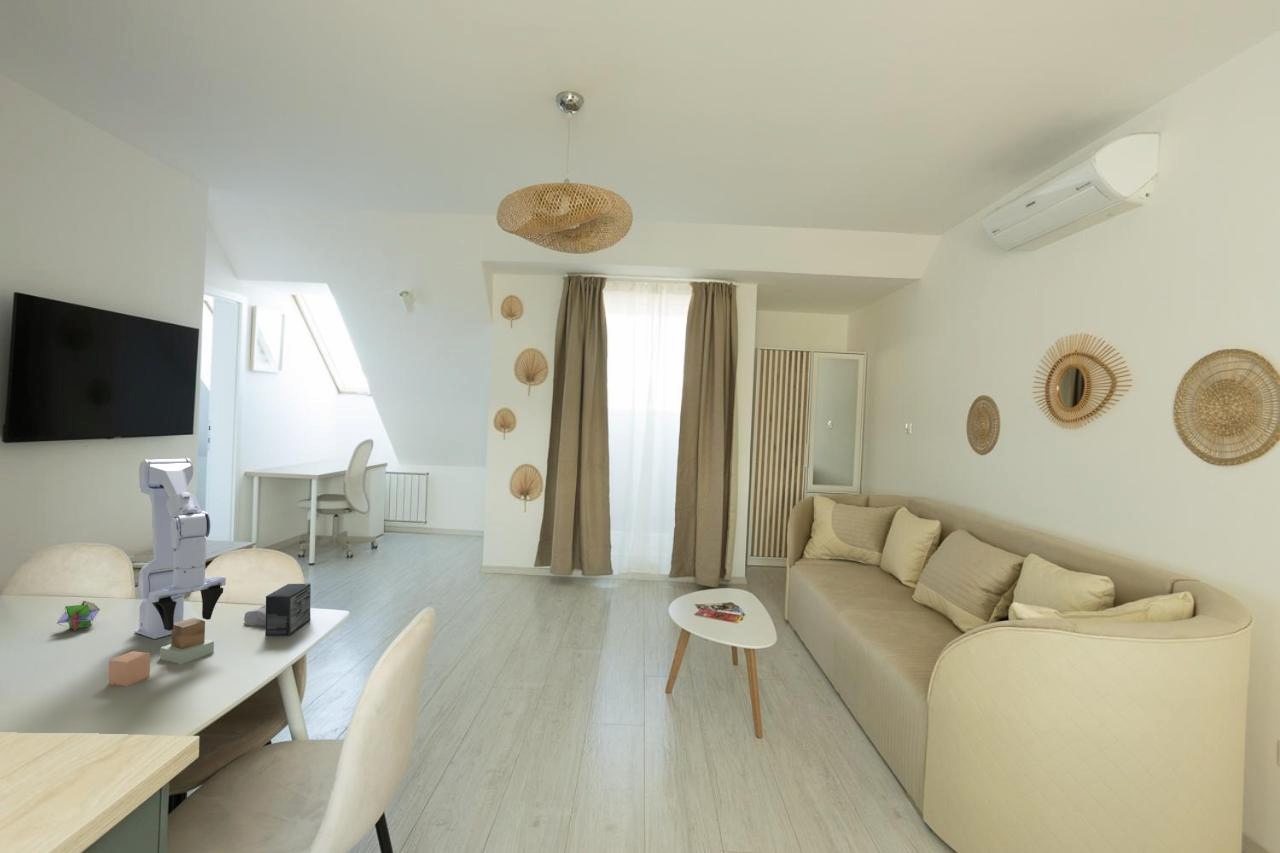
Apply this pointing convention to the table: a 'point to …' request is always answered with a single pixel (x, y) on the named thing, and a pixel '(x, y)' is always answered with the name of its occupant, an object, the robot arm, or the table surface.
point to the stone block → (256, 617)
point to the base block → (186, 652)
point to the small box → (287, 609)
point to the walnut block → (188, 633)
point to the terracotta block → (129, 668)
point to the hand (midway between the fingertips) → (188, 623)
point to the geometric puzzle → (79, 615)
